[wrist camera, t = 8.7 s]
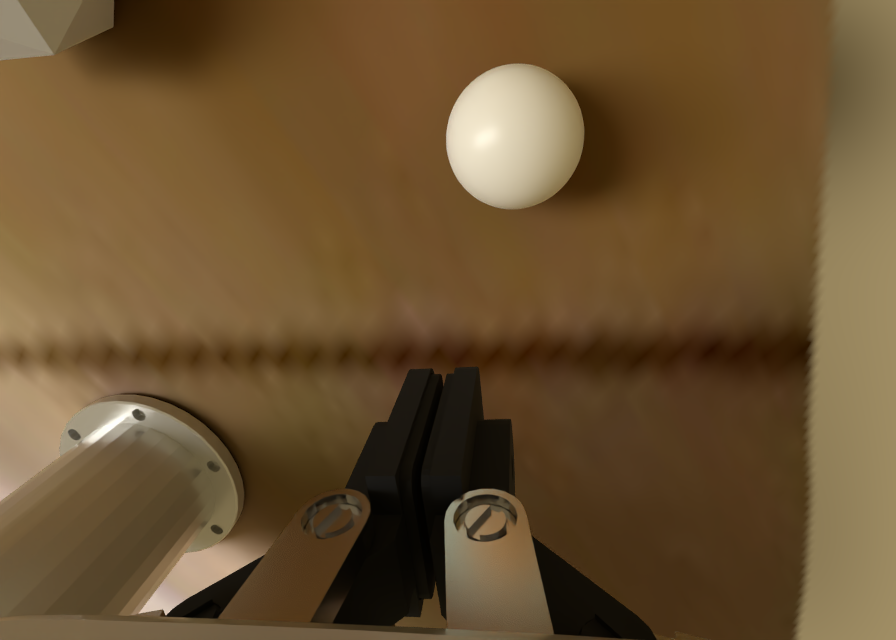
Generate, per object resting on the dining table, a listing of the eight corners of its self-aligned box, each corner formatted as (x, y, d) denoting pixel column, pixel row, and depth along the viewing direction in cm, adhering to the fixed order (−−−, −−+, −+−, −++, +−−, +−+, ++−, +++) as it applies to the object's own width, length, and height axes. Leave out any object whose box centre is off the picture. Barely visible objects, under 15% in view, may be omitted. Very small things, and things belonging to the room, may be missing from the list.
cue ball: (484, 60, 16) (465, 30, 20) (432, 213, 19) (426, 159, 23) (632, 113, 17) (585, 74, 21) (561, 247, 20) (532, 190, 25)
